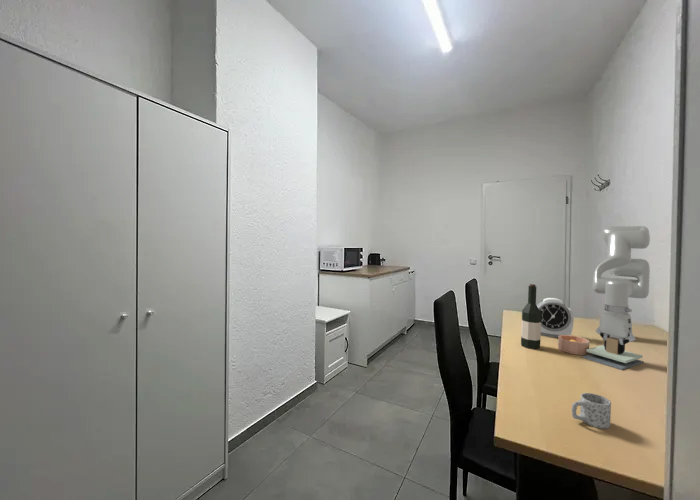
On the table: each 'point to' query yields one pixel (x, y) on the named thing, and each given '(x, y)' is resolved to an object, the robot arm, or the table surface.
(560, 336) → the bowl
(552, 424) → the table surface
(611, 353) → the lid
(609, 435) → the table surface
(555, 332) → the alarm clock
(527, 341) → the wine bottle
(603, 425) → the mug
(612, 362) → the mat
